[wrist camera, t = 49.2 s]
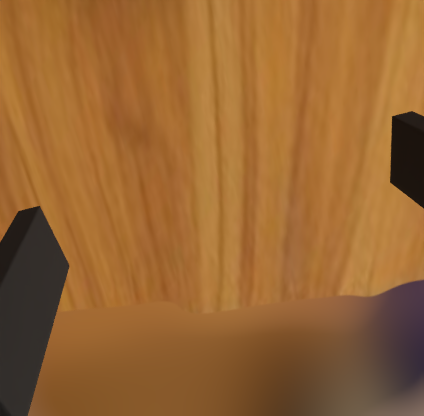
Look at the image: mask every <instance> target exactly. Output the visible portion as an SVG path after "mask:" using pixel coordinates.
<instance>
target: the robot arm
mask: <svg viewBox="0 0 424 416" xmlns="http://www.w3.org/2000/svg"><path fill="white" fill-rule="evenodd" d="M390 183H392V184H393V185H394V186H395V187H397V188H398V189H399V190H401V191H402V192H403V193H405V194H406V195H407V196H408V197H410V198H411V199H412V200H414V201H415V202H416V203H417V204H419V205H420V206H421V207H423V208H424V116H422V115H419V114H417V113H415V112H413V111H411V112H407V113H403V114H399V115H396V116H392V140H391V175H390ZM68 269H69V264H68V262H67V260H66V258H65V256H64V254H63V252H62V250H61V248H60V246H59V244H58V242H57V240H56V238H55V236H54V234H53V232H52V230H51V228H50V226H49V224H48V222H47V220H46V218H45V216H44V214H43V212H42V210H41V208H40V206H37V207H33V208H29V209H25V210H22V211H18V213H17V215H16V216H15V218H14V220H13V222H12V223H11V225H10V227H9V228H8V230H7V232H6V234H5V235H4V237H3V239H2V241H1V242H0V416H28V412H29V409H30V405H31V402H32V398H33V394H34V391H35V387H36V384H37V380H38V376H39V373H40V369H41V366H42V362H43V359H44V355H45V351H46V348H47V344H48V340H49V337H50V334H51V330H52V326H53V323H54V319H55V316H56V312H57V308H58V305H59V301H60V298H61V294H62V291H63V287H64V283H65V280H66V276H67V273H68Z"/></svg>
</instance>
